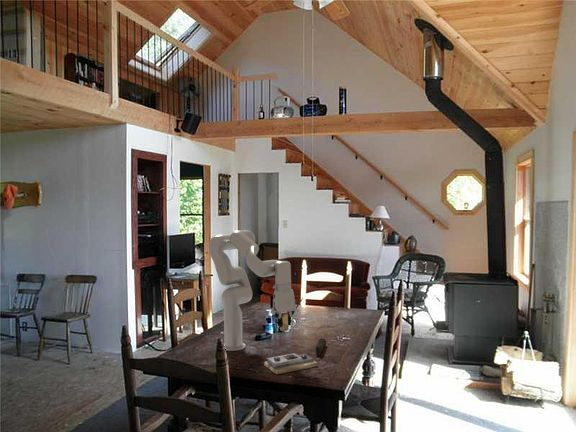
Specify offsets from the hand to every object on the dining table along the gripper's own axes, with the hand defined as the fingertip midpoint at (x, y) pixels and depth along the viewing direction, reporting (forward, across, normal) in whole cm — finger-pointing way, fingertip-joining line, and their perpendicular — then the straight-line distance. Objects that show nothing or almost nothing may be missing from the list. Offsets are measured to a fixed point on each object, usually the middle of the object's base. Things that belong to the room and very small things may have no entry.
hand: (284, 325), depth 202 cm
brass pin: (+2, 0, 0) cm, 2 cm away
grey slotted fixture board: (+16, 0, -6) cm, 17 cm away
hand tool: (+18, +23, +4) cm, 29 cm away
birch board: (+17, 0, -6) cm, 18 cm away
